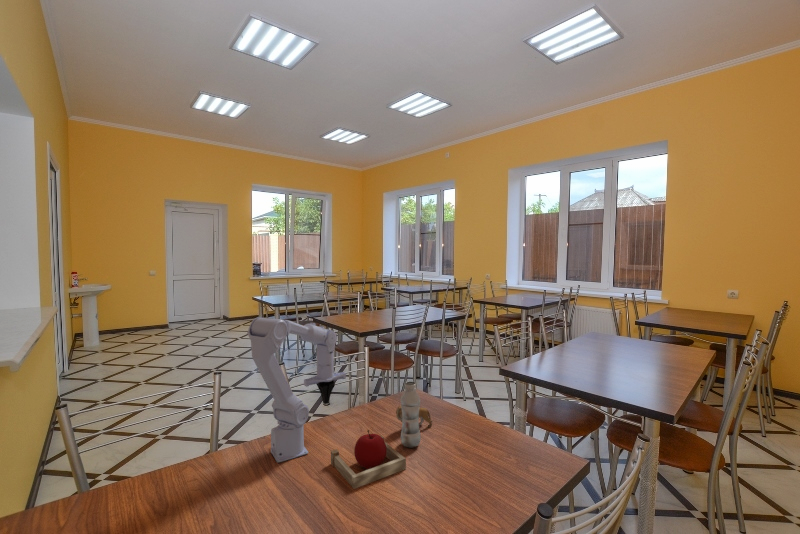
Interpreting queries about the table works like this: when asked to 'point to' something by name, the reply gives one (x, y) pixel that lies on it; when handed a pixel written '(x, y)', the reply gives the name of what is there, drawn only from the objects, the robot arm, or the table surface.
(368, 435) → the apple
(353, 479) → the corral
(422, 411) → the lion figurine
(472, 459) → the table surface
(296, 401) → the robot arm
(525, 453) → the table surface
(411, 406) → the plastic bottle
